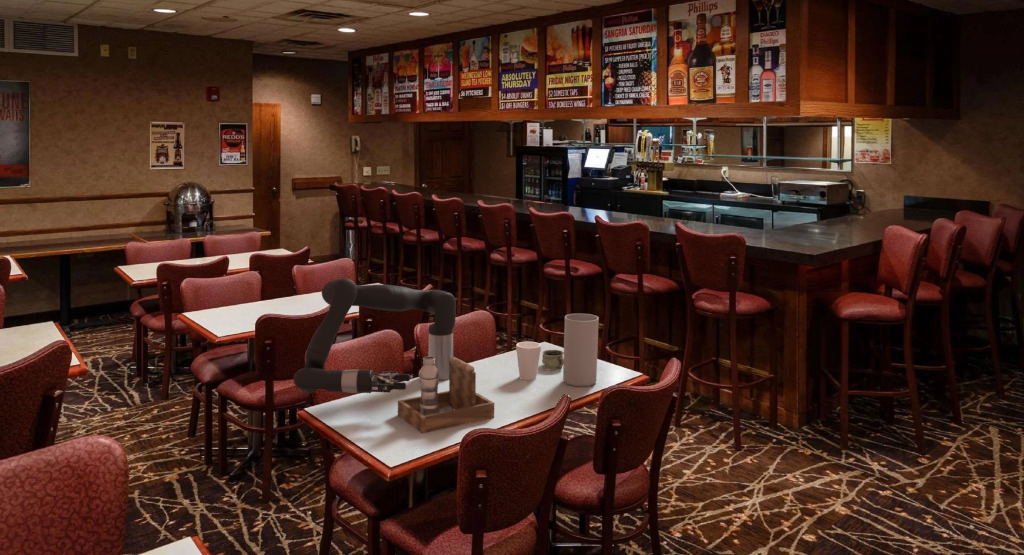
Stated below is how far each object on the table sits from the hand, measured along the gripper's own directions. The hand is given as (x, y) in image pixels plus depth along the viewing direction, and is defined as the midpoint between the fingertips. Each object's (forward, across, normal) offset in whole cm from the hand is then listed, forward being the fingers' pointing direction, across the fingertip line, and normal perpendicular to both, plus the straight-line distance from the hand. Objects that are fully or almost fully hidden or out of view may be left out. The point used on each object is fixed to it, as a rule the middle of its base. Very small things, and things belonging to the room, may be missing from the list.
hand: (407, 381), depth 243 cm
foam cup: (+40, +43, +12) cm, 60 cm away
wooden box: (+12, +1, +12) cm, 17 cm away
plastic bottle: (+7, 0, +12) cm, 14 cm away
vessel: (+50, +57, +12) cm, 76 cm away
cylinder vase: (+59, +39, +12) cm, 72 cm away
